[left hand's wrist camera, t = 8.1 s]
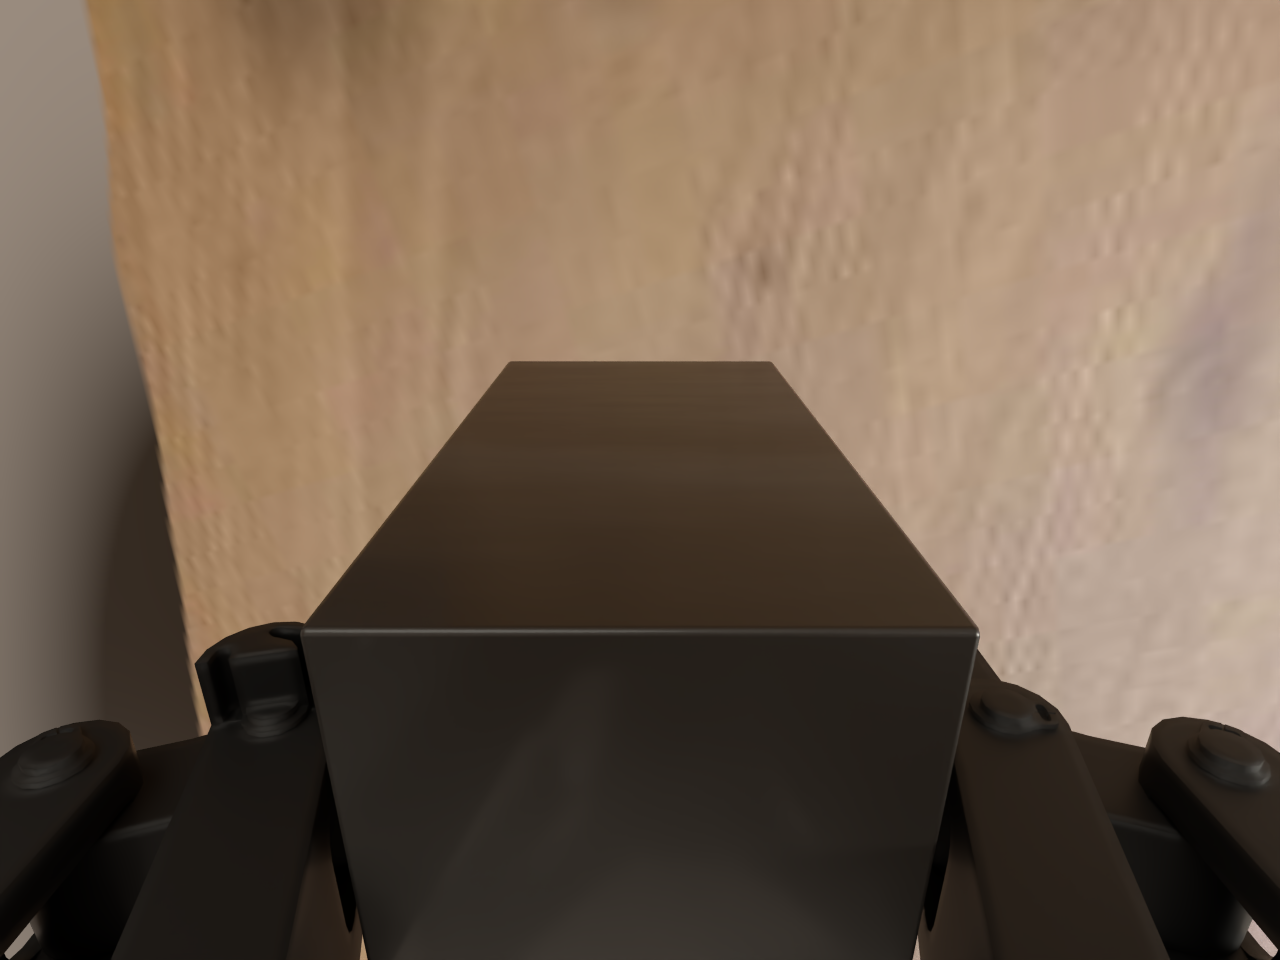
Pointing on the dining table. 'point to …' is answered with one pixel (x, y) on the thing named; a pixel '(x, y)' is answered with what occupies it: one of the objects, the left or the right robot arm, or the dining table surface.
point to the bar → (640, 683)
